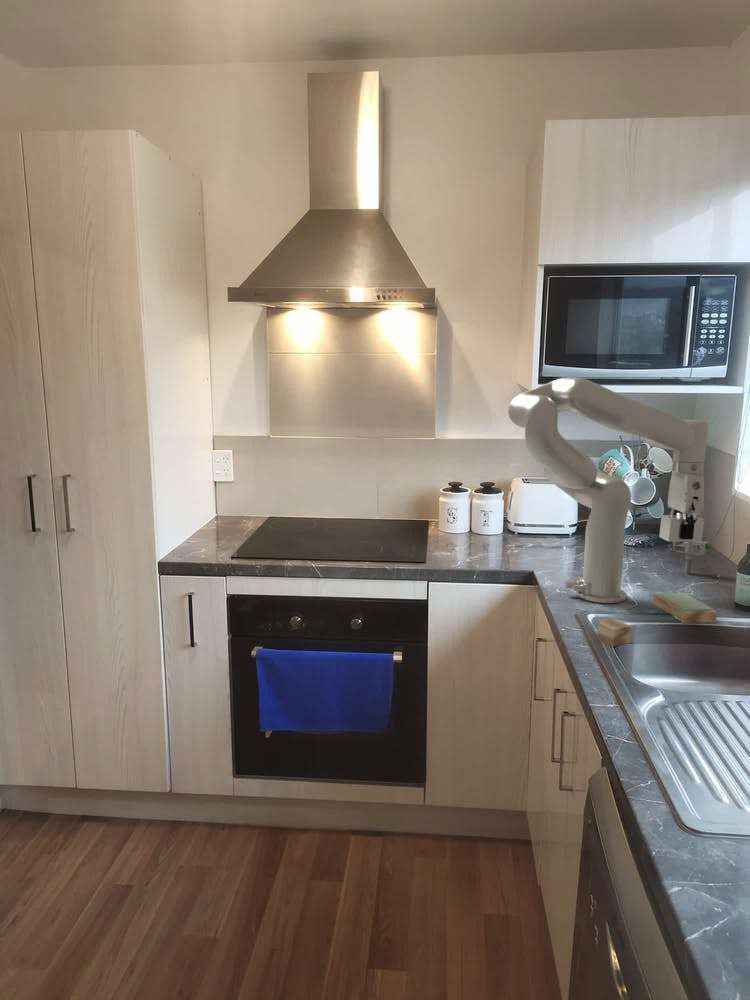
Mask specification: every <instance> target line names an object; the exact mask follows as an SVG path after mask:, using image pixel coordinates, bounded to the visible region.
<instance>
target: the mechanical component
mask: <svg viewBox="0 0 750 1000" xmlns="http://www.w3.org/2000/svg"><path fill="white" fill-rule="evenodd" d="M671 544H672V545H673V546H672V548H673V551H674V552H676V553H682V554H684V557H683V558H684V559H685V564H684V565H685V566H684V574H685V575H690V574H691V573H692V563H693V562H692V561H693V560H694V557H695V556H703V555H705V554H706V553H707V551H708V550H710V548H711V543H709V541H705V540H702V542H683V543H682V542H681V543H680V542H671ZM698 546H699V547H698ZM679 547H683V549H682V548H679Z"/></svg>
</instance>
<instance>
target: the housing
mask: <svg viewBox="0 0 750 1000" xmlns="http://www.w3.org/2000/svg"><path fill="white" fill-rule="evenodd" d="M687 516H688V517H689V516H691V515H687ZM682 524H684V523H683V512H679V511H678V512H677V513H676V515H670V514H661V518H660V526H659V527H660V528H659V538H660V539H663V540H664V541H667V542H679V543H680V542H681V543H682V542H702V541H703V536H704V535H703V533H704V525H705V518H703V517H701V516H700V517H699V518H698V519H697V521H696V524H695V525H694V534H693V539H681V538H680V536H681V526H682Z"/></svg>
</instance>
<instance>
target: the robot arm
mask: <svg viewBox="0 0 750 1000" xmlns="http://www.w3.org/2000/svg"><path fill="white" fill-rule="evenodd" d="M510 401H511V402H510V403H509V406H508V418H509V419H510V421H511V422H512V423H513V424H515V425H516V426H517V427H519V428H524V429H525V430H524V440H525V445H526V448H527V451H528V453H529V454H530V456H531V457H532V459H534V461H536V462H537V463H539V465H541V466H542V467H543V470H544V471H543V472H544V473H545V476H546V478H547V479H548V480H549V482H551V483H552V484H553V485H555V486H556V487H558V488H559V489H560V490H561V491H562V492H564V493H565V494H567V495H568V496H569V497H571V498H572V499H573V500H574V501H576V502H578V503H579V504H581V505H583V506H584V507H586V508H590V509H591V510H590V514H589V516H588V519H587V522H586V527H585V540H584V553H583V567H582V569H583V570H582V571H583V572H582V574H583V575H582V576H578V579H576V580H574V581H573V580H564V583H563V587H564V589H572V590H573V591H575V595H576V596H577V597H578V598H581V600H582V599H583V600H585V601H589V602H594V603H598V604H599V603H601V604H616V603H622V602H624V601H625V600H627V593H626V592H625V590H623V589H622V575H623V562H624V550H625V549H624V548H625V534H626V533H625V532H626V523H627V518H628V513H629V510H630V506H631V502H632V493H631V490H630V487H629V485H628V484H627V483H626V482H625V481H624V480H622V479H621V478H619V477H617V476H614V475H611V474H606V473H603V472H599V471H598V469H597V466H596V464H595V462H594V461H593V460H592V459H591V458H590V457H589V456H588V455H587V454H585V453H584V452H582V451H580V450H579V449H578V448H577V447H575V446H574V445H573V444H572V443H570V442H569V441H568V440H567V439H565V438H564V437H563V435H561V433H560V431H559V428H558V423H559V421H558V420H559V414H560V413H561V412H564V411H565V412H571V413H575V414H576V415H579V416H582V417H583V418H585V419H589V420H590V421H592V422H595V423H598V424H599V425H601V426H604V427H606V428H608V429H610V430H615V431H617V432H621V433H626V434H631V435H634V436H639V437H641V438H642V439H643V441H644V442H645V443H646V444H648V446H652V447H653V448H657V449H665V450H669V451H673V455H672V463H671V464H672V465H671V477H670V482H669V487H668V493H667V494H668V495H667V503H666V504H667V507H668V512H669V515H676V513H677V512H683V523H684V524H682V526H681V536H680V538H681V539H693V534H694V525H695V524H696V521H697V519H698V518H699V517H700V518H701V517H702V513H703V511H704V506H705V505H704V503H705V477H704V470H705V460H706V453H707V442H708V433H709V432H708V431H709V425H708V422H707V421H704V420H701V419H682V418H680V417H678V416H675V415H672V414H671V413H669V412H666V411H664V410H661V409H659V408H655V407H652V406H650V405H647V404H645V403H642V402H640V401H638V400H635V399H633V398H630V397H627V396H625V395H624V394H620V393H619V392H617V391H614V390H612V389H609V388H607V387H604V386H602V385H601V384H599V383H596V382H594V381H592V380H589V379H586V378H584V377H574V376H573V377H572V376H571V377H569V376H567V377H566V376H565V377H560V378H558V379H555V380H552V381H550V382H547V383H545V384H541V385H539V386H537V387H534V388H532V389H529V390H527V391H524V392H521V393H520V394H517V395H516V396H515V397H514V398H513V399H511V400H510ZM687 515H691V516H689V517H688V516H687Z"/></svg>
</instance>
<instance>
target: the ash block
mask: <svg viewBox="0 0 750 1000" xmlns="http://www.w3.org/2000/svg"><path fill="white" fill-rule="evenodd" d="M596 624H597V625H596V637H595V638H596V640H598V641H600V642H602V643H604V644H606V645H608V646H610V647H612V648H614V647H619V646H624V645H629V644H631V643H632V642H631V640H632V629H633V626H632V625H630V624H628V623H626V622H624V621H621V620H619V619H617V618H613V619H607V620H602V621H601V620H600V621H597V623H596Z"/></svg>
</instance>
